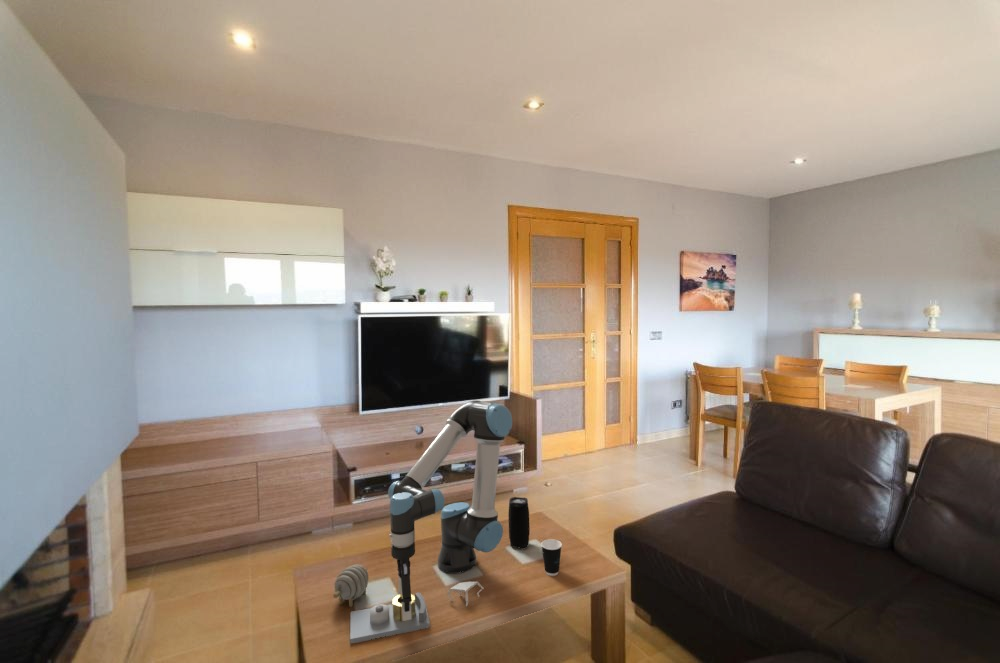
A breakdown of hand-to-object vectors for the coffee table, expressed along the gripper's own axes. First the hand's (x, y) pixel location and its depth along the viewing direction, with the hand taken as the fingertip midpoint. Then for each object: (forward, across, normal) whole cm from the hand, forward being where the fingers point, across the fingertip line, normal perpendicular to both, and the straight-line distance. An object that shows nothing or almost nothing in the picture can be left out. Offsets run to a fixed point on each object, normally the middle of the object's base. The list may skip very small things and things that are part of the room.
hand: (404, 607), depth 158 cm
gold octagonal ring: (+2, 0, 0) cm, 2 cm away
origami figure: (+4, -4, +22) cm, 22 cm away
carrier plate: (+4, 0, -5) cm, 6 cm away
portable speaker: (+4, -35, +51) cm, 62 cm away
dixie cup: (+4, -11, +56) cm, 57 cm away
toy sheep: (+4, -17, -17) cm, 24 cm away
